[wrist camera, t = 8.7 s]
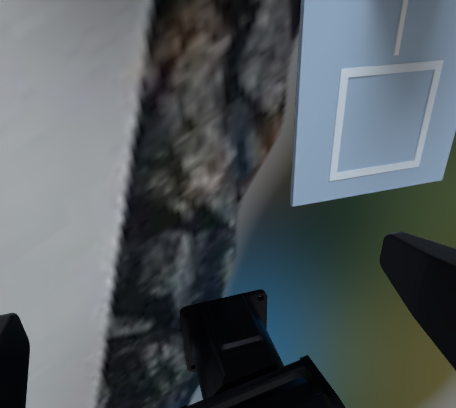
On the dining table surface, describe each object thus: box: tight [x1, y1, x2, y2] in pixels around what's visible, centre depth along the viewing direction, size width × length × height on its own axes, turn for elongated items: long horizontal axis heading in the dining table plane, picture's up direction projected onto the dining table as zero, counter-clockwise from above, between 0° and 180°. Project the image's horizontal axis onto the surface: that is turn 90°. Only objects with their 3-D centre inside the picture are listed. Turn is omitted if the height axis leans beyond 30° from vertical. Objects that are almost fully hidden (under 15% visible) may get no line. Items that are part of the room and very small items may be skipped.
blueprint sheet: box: [290, 0, 456, 207], centre depth 20 cm, size 22×12×1 cm, turn 2°
